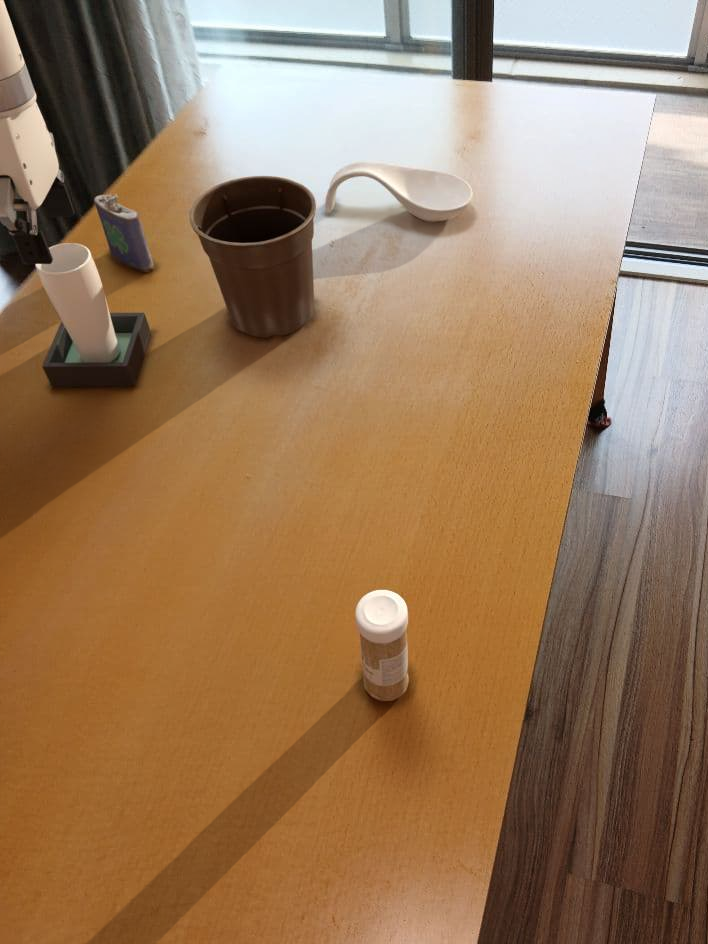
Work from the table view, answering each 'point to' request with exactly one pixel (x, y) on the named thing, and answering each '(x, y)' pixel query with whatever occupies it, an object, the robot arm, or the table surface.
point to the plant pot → (260, 251)
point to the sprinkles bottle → (383, 644)
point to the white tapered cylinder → (80, 301)
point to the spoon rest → (411, 189)
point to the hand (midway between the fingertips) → (51, 238)
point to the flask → (124, 233)
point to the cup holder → (121, 372)
